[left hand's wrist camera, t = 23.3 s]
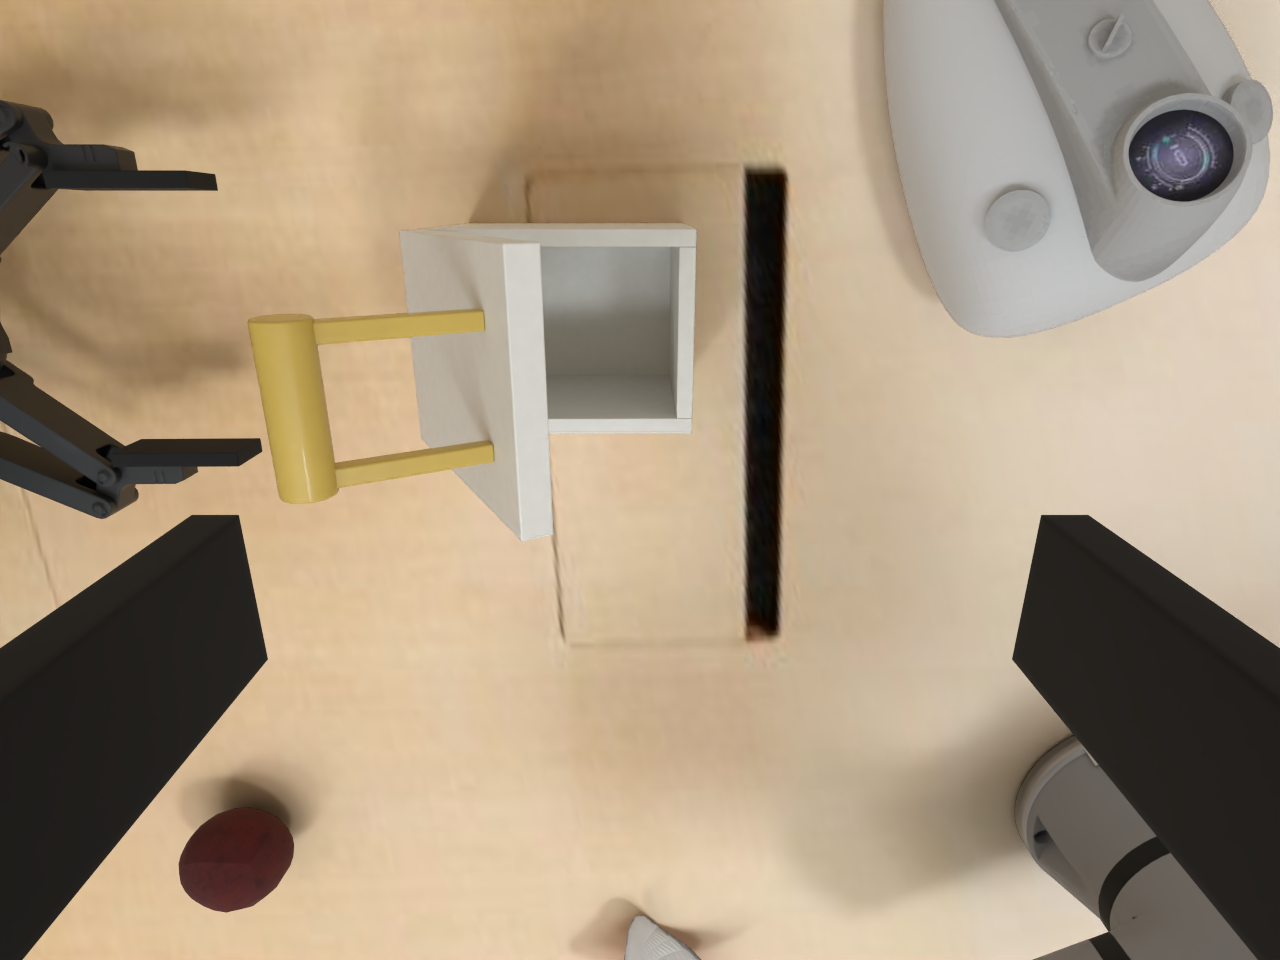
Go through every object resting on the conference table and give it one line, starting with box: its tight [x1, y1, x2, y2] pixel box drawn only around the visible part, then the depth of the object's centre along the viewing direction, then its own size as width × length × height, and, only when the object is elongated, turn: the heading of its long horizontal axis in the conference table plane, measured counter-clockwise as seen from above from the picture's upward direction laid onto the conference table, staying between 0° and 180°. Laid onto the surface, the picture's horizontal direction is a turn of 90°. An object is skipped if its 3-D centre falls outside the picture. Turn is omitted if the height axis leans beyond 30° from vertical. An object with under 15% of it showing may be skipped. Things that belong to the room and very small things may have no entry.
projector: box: [883, 0, 1273, 337], centre depth 36 cm, size 22×23×15 cm
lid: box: [248, 229, 553, 541], centre depth 28 cm, size 14×10×8 cm
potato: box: [179, 807, 294, 912], centre depth 57 cm, size 7×8×7 cm
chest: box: [417, 223, 697, 434], centre depth 42 cm, size 13×10×11 cm
